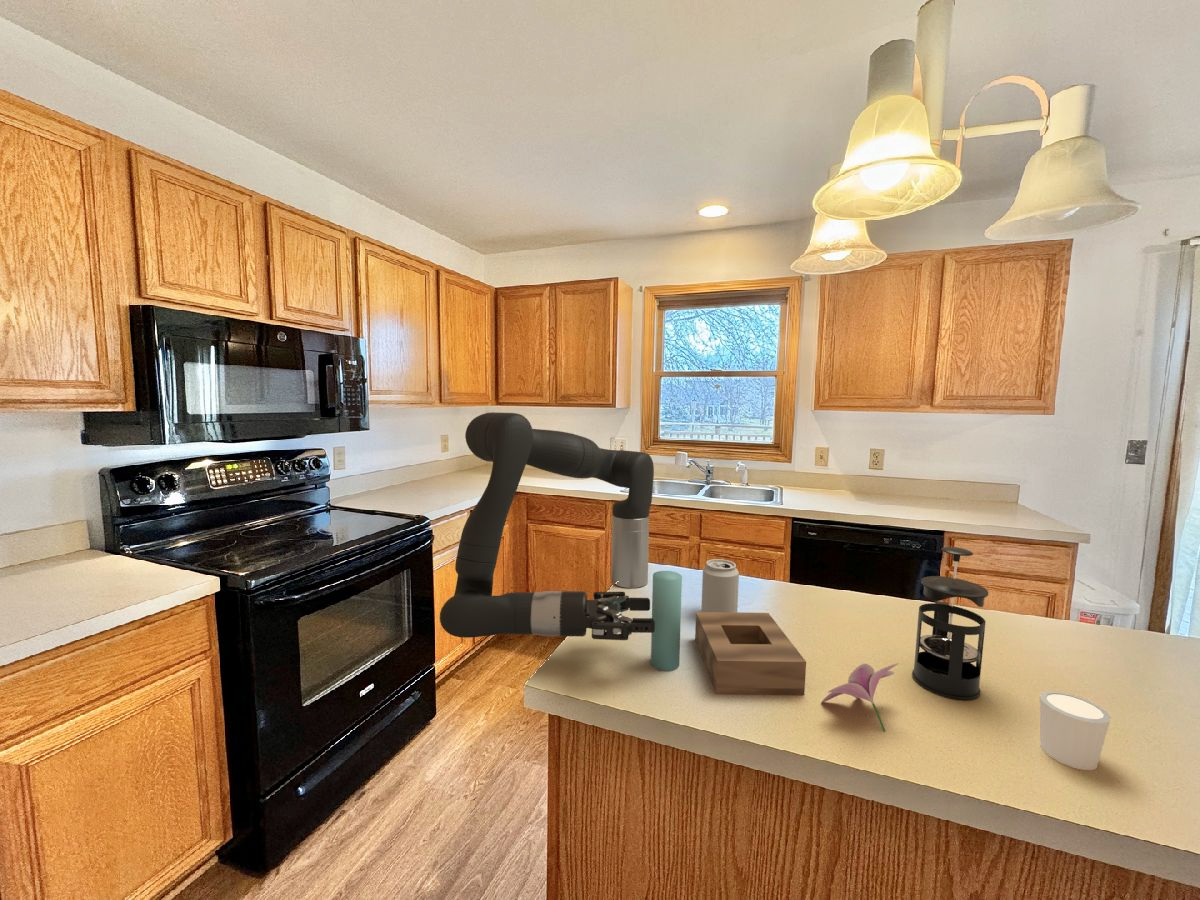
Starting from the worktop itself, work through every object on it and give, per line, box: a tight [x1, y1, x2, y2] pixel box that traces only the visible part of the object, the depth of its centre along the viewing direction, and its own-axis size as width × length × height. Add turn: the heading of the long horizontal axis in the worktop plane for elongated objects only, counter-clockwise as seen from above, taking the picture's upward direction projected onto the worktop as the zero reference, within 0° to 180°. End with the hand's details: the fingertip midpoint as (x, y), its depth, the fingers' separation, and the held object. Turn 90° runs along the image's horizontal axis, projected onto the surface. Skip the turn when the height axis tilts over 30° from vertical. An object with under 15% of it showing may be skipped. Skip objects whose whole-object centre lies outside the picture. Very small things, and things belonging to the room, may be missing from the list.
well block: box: [694, 611, 807, 696], centre depth 89 cm, size 18×14×6 cm
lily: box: [820, 663, 900, 732], centre depth 74 cm, size 12×12×10 cm
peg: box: [650, 570, 683, 672], centre depth 88 cm, size 5×5×16 cm
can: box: [700, 558, 740, 612], centre depth 107 cm, size 8×8×12 cm
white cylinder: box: [1039, 690, 1112, 771], centre depth 67 cm, size 7×7×7 cm
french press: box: [911, 546, 989, 701], centre depth 83 cm, size 12×9×23 cm
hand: (652, 614), depth 88 cm, fingers open, 8 cm apart
